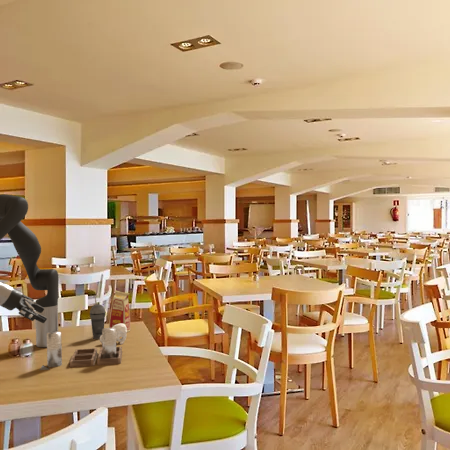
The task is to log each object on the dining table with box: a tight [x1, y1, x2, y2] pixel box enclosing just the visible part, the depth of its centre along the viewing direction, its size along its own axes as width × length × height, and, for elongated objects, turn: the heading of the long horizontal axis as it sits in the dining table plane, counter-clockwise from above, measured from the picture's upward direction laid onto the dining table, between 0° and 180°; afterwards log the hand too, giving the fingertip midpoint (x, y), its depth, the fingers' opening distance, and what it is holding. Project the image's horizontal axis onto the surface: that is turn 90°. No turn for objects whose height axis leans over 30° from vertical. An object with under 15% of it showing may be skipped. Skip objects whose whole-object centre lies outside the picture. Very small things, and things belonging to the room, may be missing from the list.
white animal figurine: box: [99, 323, 128, 345], centre depth 213 cm, size 6×8×12 cm
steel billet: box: [46, 330, 63, 368], centre depth 178 cm, size 5×5×12 cm
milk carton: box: [108, 290, 131, 333], centre depth 238 cm, size 9×9×20 cm
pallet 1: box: [69, 347, 99, 368], centre depth 184 cm, size 18×9×3 cm, turn 10°
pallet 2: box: [96, 346, 123, 366], centre depth 186 cm, size 18×9×3 cm, turn 10°
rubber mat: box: [39, 364, 50, 371], centre depth 178 cm, size 9×9×1 cm
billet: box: [101, 327, 117, 359], centre depth 181 cm, size 5×5×12 cm
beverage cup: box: [89, 294, 106, 340], centre depth 224 cm, size 7×7×20 cm
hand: (44, 315), depth 181 cm, fingers open, 8 cm apart
